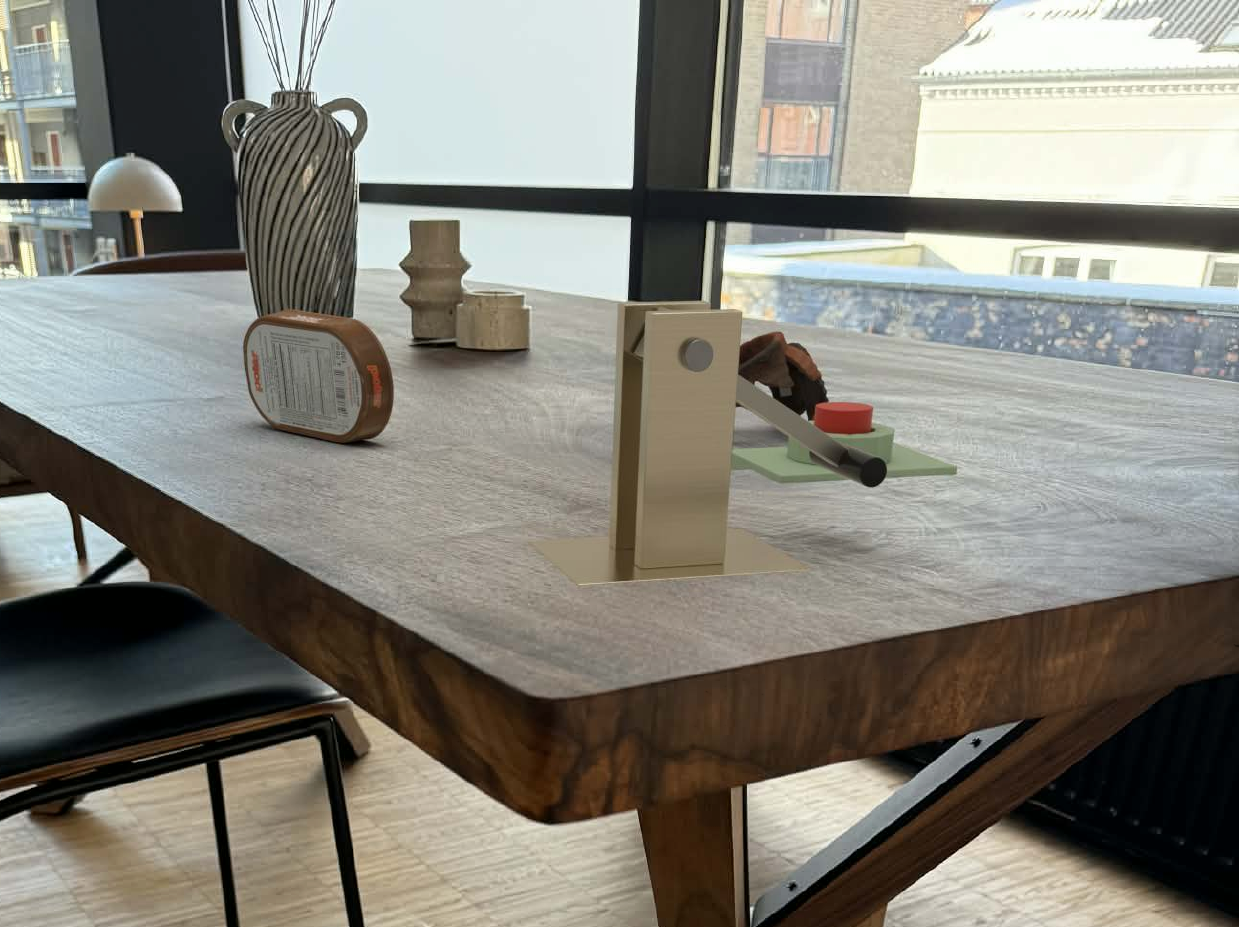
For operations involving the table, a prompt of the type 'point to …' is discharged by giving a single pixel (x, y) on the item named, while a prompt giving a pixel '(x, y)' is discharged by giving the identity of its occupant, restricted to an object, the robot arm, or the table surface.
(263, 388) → the tin
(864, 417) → the button
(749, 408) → the lever
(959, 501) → the table surface
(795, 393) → the crumpled brown leather
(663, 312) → the bracket
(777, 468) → the housing
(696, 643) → the table surface
